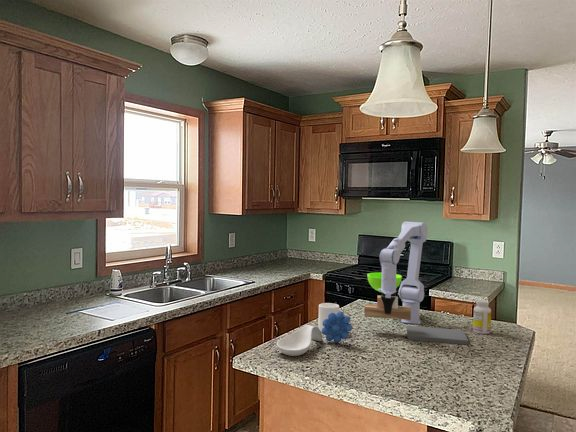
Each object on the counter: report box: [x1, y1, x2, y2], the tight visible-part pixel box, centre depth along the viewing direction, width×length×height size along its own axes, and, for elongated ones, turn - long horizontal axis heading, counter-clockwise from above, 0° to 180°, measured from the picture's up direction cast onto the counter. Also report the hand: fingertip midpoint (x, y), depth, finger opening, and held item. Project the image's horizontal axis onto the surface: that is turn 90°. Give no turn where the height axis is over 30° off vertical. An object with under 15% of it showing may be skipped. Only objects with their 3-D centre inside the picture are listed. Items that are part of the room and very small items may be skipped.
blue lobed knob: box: [321, 311, 353, 344], centre depth 170 cm, size 12×7×12 cm, turn 70°
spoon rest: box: [276, 324, 323, 357], centre depth 163 cm, size 24×12×7 cm, turn 150°
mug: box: [317, 302, 340, 333], centre depth 187 cm, size 12×8×10 cm
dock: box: [406, 325, 469, 346], centre depth 180 cm, size 14×22×2 cm, turn 77°
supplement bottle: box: [472, 299, 492, 335], centre depth 187 cm, size 7×7×13 cm
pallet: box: [364, 303, 411, 320], centre depth 184 cm, size 5×18×4 cm, turn 77°
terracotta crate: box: [376, 294, 384, 308], centre depth 184 cm, size 4×4×4 cm
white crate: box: [391, 295, 399, 309], centre depth 183 cm, size 4×4×4 cm
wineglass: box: [367, 272, 403, 293], centre depth 214 cm, size 16×16×18 cm
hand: (387, 312), depth 184 cm, fingers closed on pallet, 5 cm apart
